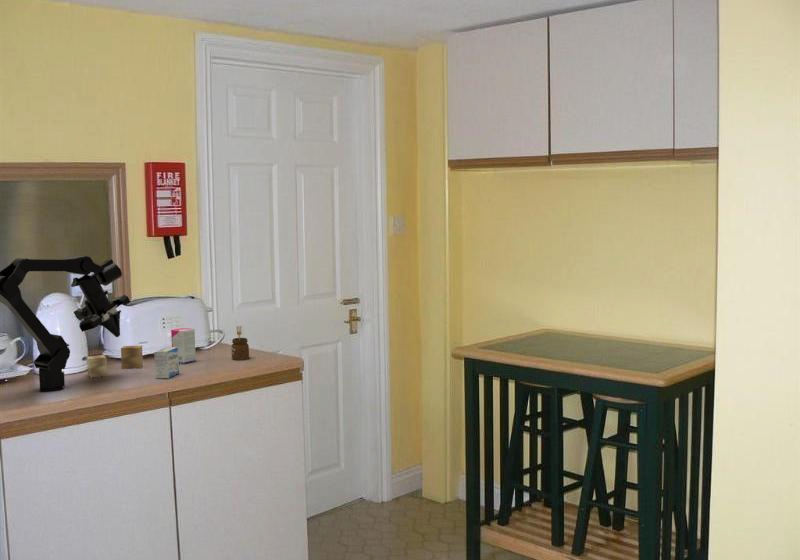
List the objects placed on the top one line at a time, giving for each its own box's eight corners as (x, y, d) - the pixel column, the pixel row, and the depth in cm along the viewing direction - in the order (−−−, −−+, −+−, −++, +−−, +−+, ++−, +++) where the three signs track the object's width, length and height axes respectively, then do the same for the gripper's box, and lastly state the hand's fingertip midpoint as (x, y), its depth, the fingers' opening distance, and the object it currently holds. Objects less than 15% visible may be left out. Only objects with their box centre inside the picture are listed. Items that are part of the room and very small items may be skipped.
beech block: (90, 378, 274) (89, 359, 273) (88, 375, 278) (87, 356, 277) (107, 376, 276) (106, 357, 276) (104, 373, 280) (103, 355, 280)
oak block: (121, 369, 287) (120, 348, 286) (124, 366, 291) (123, 345, 290) (140, 368, 287) (139, 347, 287) (143, 366, 291) (142, 345, 291)
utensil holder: (249, 356, 304) (248, 323, 303) (248, 360, 298) (247, 325, 297) (232, 357, 303) (231, 323, 302) (231, 360, 297) (230, 326, 296)
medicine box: (168, 379, 270) (167, 351, 269) (155, 378, 271) (153, 351, 270) (179, 373, 278) (178, 347, 277) (166, 373, 279) (165, 346, 278)
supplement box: (196, 361, 297) (195, 328, 296) (183, 364, 292) (182, 330, 291) (184, 359, 301) (183, 327, 299) (171, 362, 296) (170, 329, 294)
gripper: (94, 286, 279) (117, 328, 283) (56, 312, 263) (81, 356, 268) (119, 278, 274) (142, 320, 278) (81, 303, 258) (107, 348, 263)
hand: (118, 336), depth 272 cm, fingers closed
